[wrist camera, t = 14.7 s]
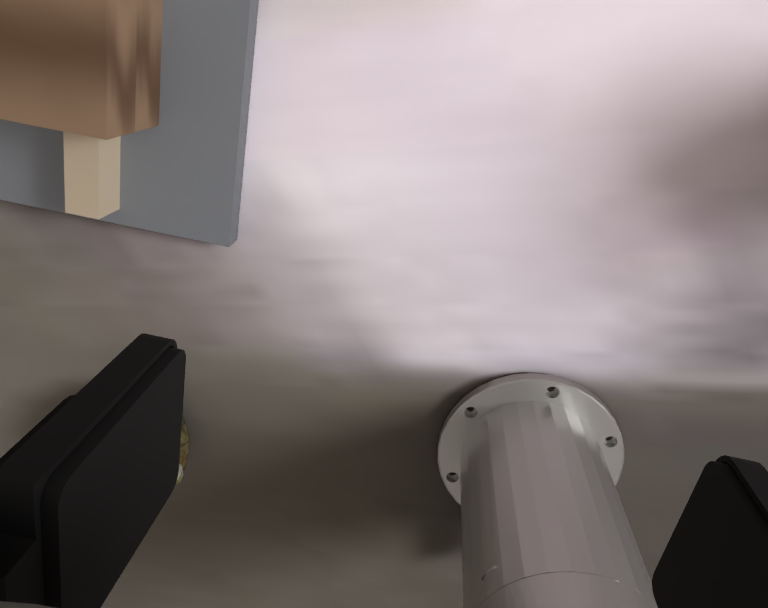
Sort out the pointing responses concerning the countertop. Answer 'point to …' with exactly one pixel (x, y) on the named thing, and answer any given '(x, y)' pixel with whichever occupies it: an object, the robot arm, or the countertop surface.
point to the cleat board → (156, 138)
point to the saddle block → (81, 65)
